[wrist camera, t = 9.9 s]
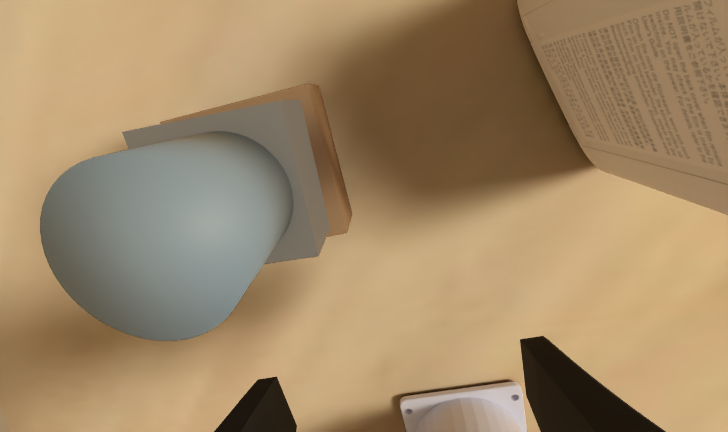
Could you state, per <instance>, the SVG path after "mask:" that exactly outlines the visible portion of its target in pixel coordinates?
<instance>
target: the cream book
mask: <svg viewBox="0 0 728 432" xmlns="http://www.w3.org/2000/svg"><path fill="white" fill-rule="evenodd" d="M517 5H518V9H519V13H520V17H521V20H522V23H523V26H524V29H525V31H526V34H527V36H528V39H529V41H530V43H531V46H532V48H533V50H534V52H535V55H536V57H537V59H538V61H539V63H540V65H541V68H542V70H543V72H544V74H545V76H546V78H547V80H548V83H549V85H550V87H551V89H552V91H553V93H554V95H555V97H556V100H557V102H558V104H559V106H560V108H561V110H562V112H563V114H564V116H565V118H566V120H567V122H568V124H569V127H570V128H571V130H572V132H573V134H574V136H575V138H576V139H577V141H578V143H579V145H580V147H581V148H582V150H583V152H584V153H585V155H586V156H587V157H588V159H589V160H590V161H591V162H592V163H593V164H594V165H595V166H596V167H597V168H598V169H600V170H602V171H604V172H607V173H610V174H613V175H616V176H619V177H622V178H624V179H628V180H630V181H633V182H636V183H639V184H642V185H645V186H647V187H650V188H653V189H656V190H659V191H662V192H664V193H667V194H670V195H673V196H676V197H679V198H681V199H684V200H687V201H690V202H693V203H696V204H698V205H701V206H704V207H707V208H710V209H712V210H715V211H718V212H721V213H723V214H726V215H728V0H517Z"/></svg>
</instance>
